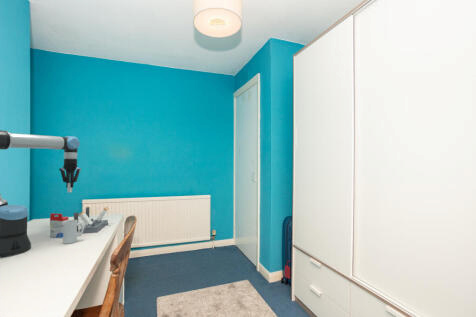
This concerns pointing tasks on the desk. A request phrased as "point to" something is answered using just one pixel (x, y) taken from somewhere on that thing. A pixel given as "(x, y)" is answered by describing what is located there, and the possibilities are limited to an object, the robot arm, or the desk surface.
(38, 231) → the desk surface
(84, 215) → the paddle
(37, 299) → the desk surface
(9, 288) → the desk surface
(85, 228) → the breaker panel
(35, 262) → the desk surface
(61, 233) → the ink box
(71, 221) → the mug
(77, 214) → the cable post left
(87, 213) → the cable post right
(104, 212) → the paddle
